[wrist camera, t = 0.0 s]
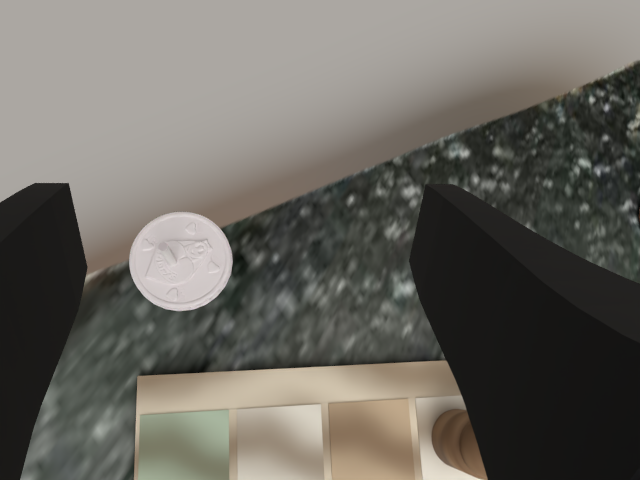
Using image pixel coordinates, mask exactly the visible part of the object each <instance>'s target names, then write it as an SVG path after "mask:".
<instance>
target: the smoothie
mask: <svg viewBox="0 0 640 480" xmlns="http://www.w3.org/2000/svg"><path fill="white" fill-rule="evenodd" d="M232 263H233V261H232V251H231V248H230V245H229V243H228V240H227V238H226V236H225V235H224V233H223V232H222V230H221V229H220V228H219V227H218V226H217V225H216V224H215V223H214V222H212V221H211V220H210V219H208V218H206V217H204V216H202V215H199V214H196V213H191V212H173V213H168V214H165V215H162V216H160V217H158V218H156V219H154V220H152V221H151V222H149V223H148V224H147V225H146V226H145V227H144V228H143V229H142V230H141V231H140V232H139V234H138V235H137V237H136V238H135V240H134V243H133V245H132V248H131V251H130V258H129V265H130V272H131V275H132V278H133V281H134V283H135V284H136V286H137V288H138V289H139V290H140V292H141V293H142V294H143V296H144V297H146V298H147V299H148V300H149V301H151V302H152V303H153V304H155V305H157V306H160V307H162V308H164V309H168V310H175V311H185V310H193V309H196V308H198V307H201V306H203V305H206V304H207V303H209V302H210V301H211V300H213V299H214V298H216V297H217V296H218V295H219V293H220V292H221V291H222V290H223V289H224V287H225V286H226V284H227V282H228V279H229V277H230V275H231V269H232Z"/></svg>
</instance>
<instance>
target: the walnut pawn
mask: <svg viewBox="0 0 640 480" xmlns="http://www.w3.org/2000/svg"><path fill="white" fill-rule="evenodd" d="M432 445H433V448H434V451H435V453H436V455H437V456H438V457H439V459H440V460H441V461H442V462H444V463H445V464H446V465H448V466H450V467H453V468H455V469H457V470H460V471H462V472H464V473H466V474H469V475H471V476H473V477H476V478H478V479H482V480H488V479H487V475H486V472H485V468H484V465H483V462H482V458H481V455H480V451H479V448H478V444H477V441H476V438H475V435H474V432H473V429H472V425H471V422H470V419H469V416H468V413H467V410H462V409H452V410H448V411H446V412H444V413H443V414H442V415H440V416H439V418H438V419H437V420H436V422H435V424H434V426H433V429H432Z"/></svg>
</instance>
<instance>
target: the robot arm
mask: <svg viewBox="0 0 640 480" xmlns="http://www.w3.org/2000/svg"><path fill="white" fill-rule="evenodd" d="M409 262H410V266H411V270H412V274H413V278H414V282H415V285H416V289H417V292H418V296H419V299H420V301H421V304H422V306H423V309H424V311H425V313H426V315H427V318H428V320H429V322H430V325H431V327H432V329H433V331H434V334H435V336H436V338H437V340H438V343H439V345H440V347H441V349H442V351H443V354H444V356H445V358H446V360H447V363H448V365H449V367H450V369H451V371H452V374H453V376H454V378H455V380H456V383H457V385H458V388H459V390H460V393H461V395H462V398H463V401H464V403H465V407H466V410H467V413H468V416H469V419H470V422H471V425H472V429H473V432H474V435H475V438H476V441H477V444H478V448H479V451H480V455H481V458H482V462H483V465H484V468H485V472H486V475H487V479H488V480H640V284H639V283H636V282H634V281H631V280H629V279H627V278H624V277H622V276H620V275H618V274H615V273H613V272H611V271H609V270H607V269H604V268H602V267H600V266H598V265H596V264H593V263H591V262H589V261H587V260H585V259H583V258H581V257H579V256H577V255H575V254H573V253H571V252H569V251H568V250H566V249H564V248H562V247H560V246H558V245H556V244H555V243H553V242H551V241H549V240H547V239H546V238H544V237H542V236H540V235H539V234H537V233H535V232H533V231H532V230H530V229H528V228H527V227H525V226H523V225H522V224H520V223H518V222H517V221H515V220H513V219H512V218H510V217H509V216H507V215H505V214H504V213H502V212H500V211H499V210H497V209H496V208H494V207H492V206H491V205H489V204H488V203H486V202H484V201H483V200H481V199H479V198H478V197H476V196H474V195H473V194H471V193H469V192H467V191H466V190H464V189H462V188H460V187H458V186H455V185H453V184H426V185H425V190H424V194H423V199H422V204H421V208H420V213H419V218H418V222H417V227H416V231H415V236H414V241H413V245H412V250H411V255H410V259H409ZM86 272H87V264H86V259H85V254H84V250H83V246H82V241H81V237H80V232H79V227H78V223H77V219H76V214H75V209H74V205H73V201H72V196H71V191H70V187H69V183H34V184H32V185H30V186H28V187H26V188H24V189H22V190H21V191H19V192H17V193H15V194H14V195H12V196H10V197H9V198H7V199H5V200H4V201H2V202H1V203H0V480H20V477H21V474H22V470H23V466H24V462H25V458H26V455H27V451H28V447H29V443H30V439H31V436H32V432H33V428H34V425H35V422H36V419H37V416H38V413H39V410H40V407H41V405H42V402H43V400H44V397H45V394H46V392H47V389H48V387H49V384H50V382H51V379H52V377H53V374H54V372H55V369H56V366H57V364H58V361H59V359H60V356H61V354H62V351H63V349H64V346H65V343H66V341H67V338H68V336H69V333H70V330H71V328H72V325H73V323H74V320H75V317H76V314H77V312H78V309H79V304H80V300H81V296H82V292H83V287H84V282H85V277H86Z"/></svg>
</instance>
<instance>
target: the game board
mask: <svg viewBox="0 0 640 480" xmlns="http://www.w3.org/2000/svg"><path fill="white" fill-rule="evenodd" d="M452 409H462V410H466V407H465V403H464V401H463V398H462V395H461V393H460V390H459V388H458V385H457V383H456V380H455V378H454V376H453V374H452V371H451V369H450V367H449V365H448V363H447V360H444V361H424V362H405V363H385V364H365V365H346V366H326V367H306V368H287V369H267V370H247V371H228V372H208V373H188V374H169V375H149V376H137V407H136V437H135V467H134V480H482V479H478V478H476V477H473V476H471V475H469V474H466V473H464V472H462V471H460V470H457V469H455V468H453V467H450V466H448V465H446V464H445V463H444V462H442V461H441V460H440V459H439V457H438V456H437V455H436V453H435V451H434V448H433V445H432V429H433V426H434V424H435V422H436V420H437V419H438V418H439V416H440V415H442V414H443V413H444V412H446V411H448V410H452Z"/></svg>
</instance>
